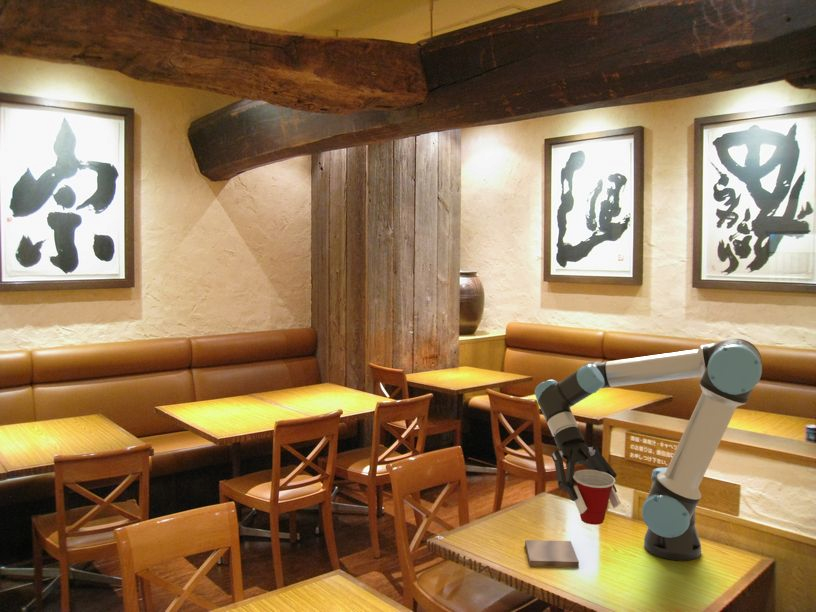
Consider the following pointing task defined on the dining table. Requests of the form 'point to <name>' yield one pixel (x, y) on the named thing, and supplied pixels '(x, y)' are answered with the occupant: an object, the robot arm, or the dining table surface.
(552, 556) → the walnut coaster board
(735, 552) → the dining table surface
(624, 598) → the dining table surface
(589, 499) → the plastic cup
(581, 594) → the dining table surface
